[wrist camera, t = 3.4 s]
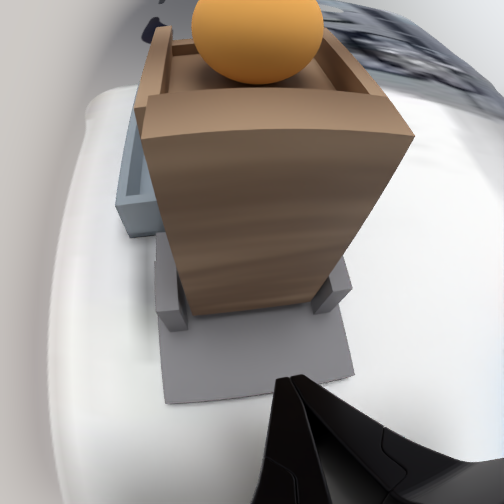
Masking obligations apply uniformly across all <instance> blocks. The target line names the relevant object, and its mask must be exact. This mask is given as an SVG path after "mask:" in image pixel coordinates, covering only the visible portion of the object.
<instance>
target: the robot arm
mask: <svg viewBox="0 0 504 504" xmlns="http://www.w3.org/2000/svg"><path fill="white" fill-rule="evenodd" d="M383 427H384V426H383V425H382V424H380V423H378V422H377V421H375V420H373V419H372V418H370V417H369V416H367V415H365V414H364V413H362V412H360V411H359V410H357V409H356V408H354V407H353V406H351V405H349V404H348V403H346V402H345V401H343V400H342V399H340V398H338V397H337V396H335V395H334V394H332V393H331V392H329V391H328V390H326V389H325V388H323V387H322V386H320V385H319V384H317V383H316V382H314V381H313V380H311V379H310V378H308V377H307V376H305V375H303V374H299V375H293V376H291V377H290V378H289V377H282V378H277V379H276V380H275V386H274V393H273V400H272V406H271V413H270V419H269V426H268V432H267V438H266V444H265V450H264V456H263V461H262V466H261V471H260V476H259V480H258V484H257V487H256V490H255V493H254V496H253V498H252V501H251V504H504V458H500V459H495V460H489V461H483V462H465V461H460V460H457V459H454V458H451V457H449V456H446V455H444V454H441V453H439V452H436V451H434V450H431V449H429V448H426V447H424V446H421V445H419V444H417V443H415V442H413V441H410V440H408V439H406V438H405V437H403V436H401V435H399V434H397V433H395V432H394V431H392V430H390V429H389V428H387V427H384V428H383Z"/></svg>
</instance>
